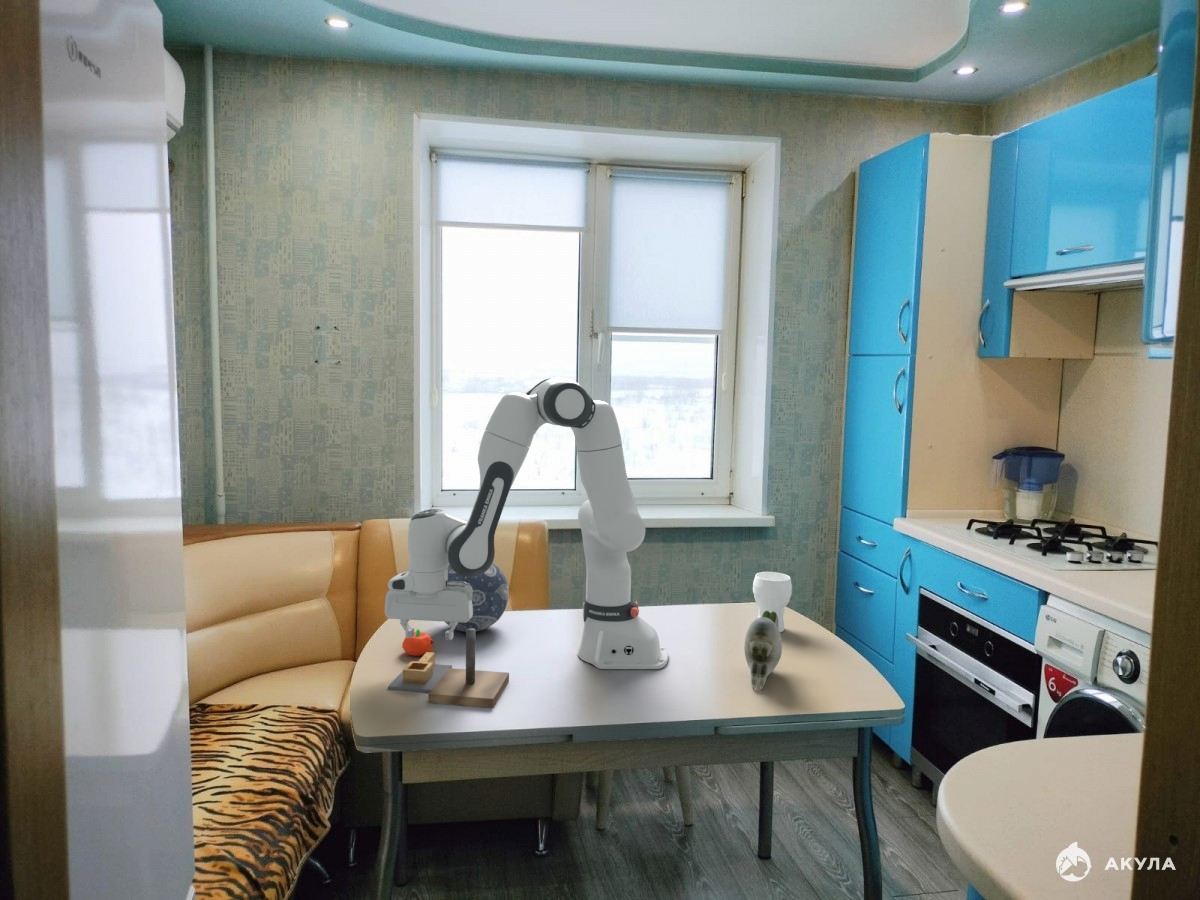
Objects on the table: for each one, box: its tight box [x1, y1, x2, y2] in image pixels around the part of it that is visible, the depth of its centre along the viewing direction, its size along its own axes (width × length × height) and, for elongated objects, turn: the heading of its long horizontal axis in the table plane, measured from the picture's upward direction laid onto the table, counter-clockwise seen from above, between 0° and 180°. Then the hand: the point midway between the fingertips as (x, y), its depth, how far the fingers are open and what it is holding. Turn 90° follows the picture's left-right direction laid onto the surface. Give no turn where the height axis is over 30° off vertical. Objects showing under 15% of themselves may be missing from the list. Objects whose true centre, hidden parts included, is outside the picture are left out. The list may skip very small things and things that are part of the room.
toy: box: [743, 611, 783, 692], centre depth 182 cm, size 8×15×20 cm
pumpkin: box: [401, 628, 434, 657], centre depth 189 cm, size 7×8×6 cm
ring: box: [402, 651, 436, 685], centre depth 176 cm, size 5×11×3 cm, turn 174°
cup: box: [752, 571, 793, 633], centre depth 215 cm, size 11×11×15 cm
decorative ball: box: [444, 562, 510, 633], centre depth 206 cm, size 20×20×20 cm
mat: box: [387, 663, 453, 693], centre depth 175 cm, size 10×14×1 cm
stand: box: [428, 628, 510, 709], centre depth 168 cm, size 14×14×14 cm
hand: (429, 638), depth 179 cm, fingers open, 8 cm apart
